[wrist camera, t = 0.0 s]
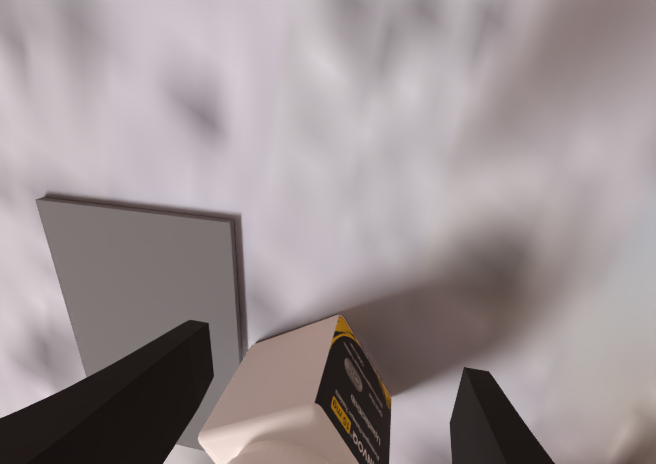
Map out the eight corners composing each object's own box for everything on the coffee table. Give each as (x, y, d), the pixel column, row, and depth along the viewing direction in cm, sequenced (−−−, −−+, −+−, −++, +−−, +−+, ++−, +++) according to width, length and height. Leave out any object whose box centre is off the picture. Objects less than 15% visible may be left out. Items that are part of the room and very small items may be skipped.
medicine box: (393, 397, 23) (384, 676, 12) (302, 419, 25) (226, 669, 14) (342, 310, 21) (277, 546, 10) (249, 343, 24) (118, 561, 13)
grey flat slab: (248, 454, 28) (245, 460, 28) (105, 421, 30) (100, 426, 30) (233, 219, 20) (229, 222, 20) (42, 197, 22) (35, 199, 22)
